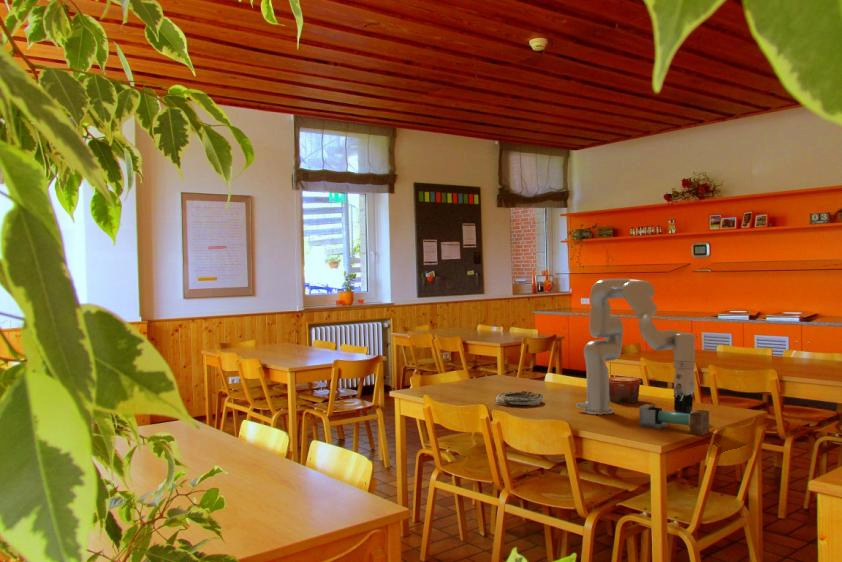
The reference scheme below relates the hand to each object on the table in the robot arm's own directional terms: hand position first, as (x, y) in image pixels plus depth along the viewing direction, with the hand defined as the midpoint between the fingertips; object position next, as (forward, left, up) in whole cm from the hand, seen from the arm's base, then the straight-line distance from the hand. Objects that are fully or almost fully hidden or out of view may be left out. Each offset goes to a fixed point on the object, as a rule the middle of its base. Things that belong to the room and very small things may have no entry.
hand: (683, 408), depth 276 cm
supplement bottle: (+5, +19, -9) cm, 21 cm away
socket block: (+5, -4, -9) cm, 11 cm away
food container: (-11, +61, -9) cm, 62 cm away
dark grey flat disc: (-59, +58, -9) cm, 83 cm away
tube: (-1, +1, -7) cm, 7 cm away
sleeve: (-10, +7, -9) cm, 15 cm away
